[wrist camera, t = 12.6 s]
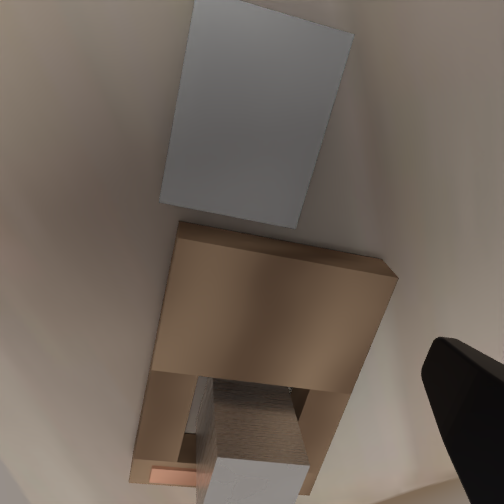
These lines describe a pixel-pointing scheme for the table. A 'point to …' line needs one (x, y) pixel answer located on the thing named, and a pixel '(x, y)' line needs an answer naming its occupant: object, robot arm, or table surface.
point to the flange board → (256, 338)
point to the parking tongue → (251, 111)
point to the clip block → (248, 445)
